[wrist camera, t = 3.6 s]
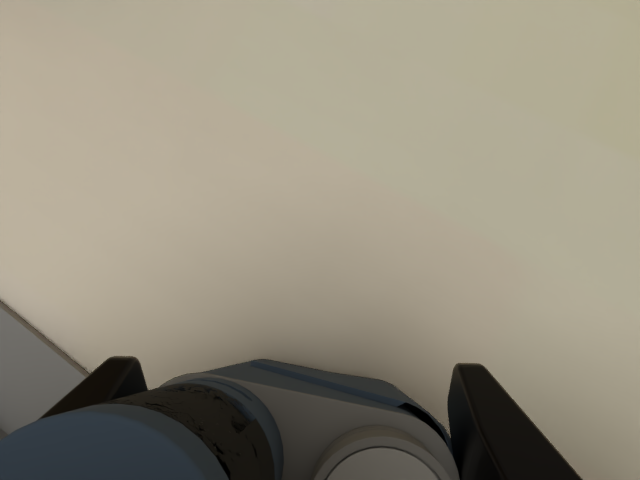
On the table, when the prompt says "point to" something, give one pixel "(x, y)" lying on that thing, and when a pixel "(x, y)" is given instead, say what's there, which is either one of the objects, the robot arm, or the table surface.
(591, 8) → the table surface
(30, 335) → the dock
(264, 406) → the vaping device
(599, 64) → the table surface
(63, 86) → the table surface
